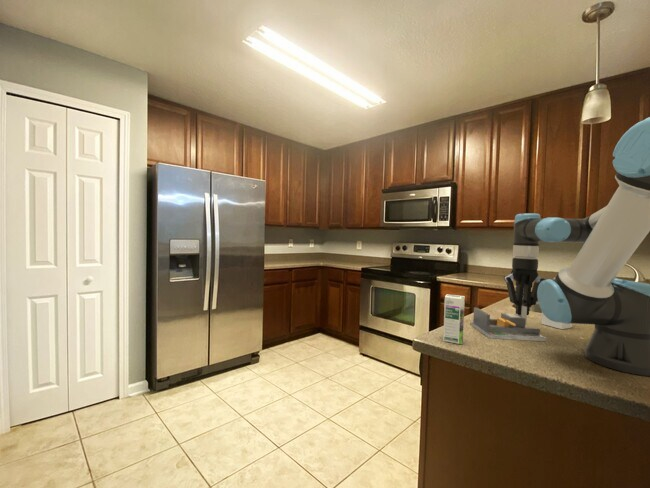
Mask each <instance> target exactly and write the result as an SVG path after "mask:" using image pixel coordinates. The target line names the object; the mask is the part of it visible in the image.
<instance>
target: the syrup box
mask: <svg viewBox="0 0 650 488" xmlns="http://www.w3.org/2000/svg"><path fill="white" fill-rule="evenodd" d="M465 301H466V297H465V295H458V294H457V295H456V294H448V293H447V294H446V295H445V296H444V303H443V305H444V306H443V307H444V308H443V309H444V311H443V313H444V315H443V335H442V341H443V342H445V343H452V344H458V345H463V340H464V329H465V328H464V327H465V326H464V325H465V324H464V323H465Z"/></svg>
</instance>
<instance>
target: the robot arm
mask: <svg viewBox="0 0 650 488" xmlns="http://www.w3.org/2000/svg"><path fill="white" fill-rule="evenodd" d="M612 157H613V158H614V159H613V160H612V165H613V169H614V170H615V171H616V174H615V175H614V179H615V180H616V182H617V184H618V187H617V189H616V191H615V192H614V193H613V195H612V197H611V198H610V200H609V202H608V204H607V205H605V206H604V207H603V208H601V209H599V210H597V211H596V212H594V213H592V214H590V215H589V216H587V217H585V218H562V217H555V216H554V217H552V216H551V217H550V216H549V217H545V218H541V214H539V213H528V212H527V213H517V214H516V215H515V216H514V223H513V242H512V243H513V244H512V256H513V257H512V261H511V262H512V263H511V268H512V270H511V271H510V273H509V274H508V275H507V276H503V280H504V281H505V283H506V289H507V292H508V298H509V301H510V302H509V303H512V304H514V305H515V314H517V315H519V316H521V317H523V318H525V326H527V316H529V315H530V308H531V307H532V306H535V305H536V304H537V302H538V306H539V309H540V310H541V313H542V312H543V314H544V315H545V316H546V317H547V318H548V319H550V320H551V321H554V322H560V323H565V324H569V323H570V324H572V325H574V324H576V325H577V324H578V325H594V329H593V332H592V334H591V336H590V339H589V341H588V342H587V344H586V345H585V347H584V356H585V358H587V359H588V360H590V361H592V362H593V363H595V364H598V365H601V366H603V367H606V368H609V369H613V370H616V371H619V372H623V373H628V374H633V375H637V376H647V377H650V283H645V282H639V281H634V280H627V279H621V278H616V277H617V275H619V273H620V271H621V270H622V269H623V268H624V266H625V265H626V263H627V262H628V261H629V260H630V259H631V257H632V255H633V254H634V253H635V251H636V250H637V249H638V247H639V246H640V245H641V244H642V242H643V241H644V239H646V237H647V235H648V234H649V233H650V116H649V117H647V118H645V119H643V120H641V121H639V122H637V123H635V124H634V125H633V126H631V127H630V128H628V130H626V132H624V134H623V135H622V136H621V137H620V139H619V140H618V142H617V144H616V145H615V148H614V150H613V152H612ZM540 242H541V243H542V242H543V243H544V242H545V243H575V244H580V243H581V244H583V245H582V247H581V248H580V249H579V252H578V253H577V255H576V256H575V258H574V260H573V262H572V263H571V264H570V265H569V266H566V267H563V268H561V269H560V270H559V271H558V273H557V274H556V276H555V277H554V278H555V279H554V278H553V279H554V280H553V279H550V278H547V279H545V278H544V277H543V278H542V277H541V276H539V273H538V269H539V259H538V258H539V255H540V254H539V252H540ZM514 282H515V285H514Z"/></svg>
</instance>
